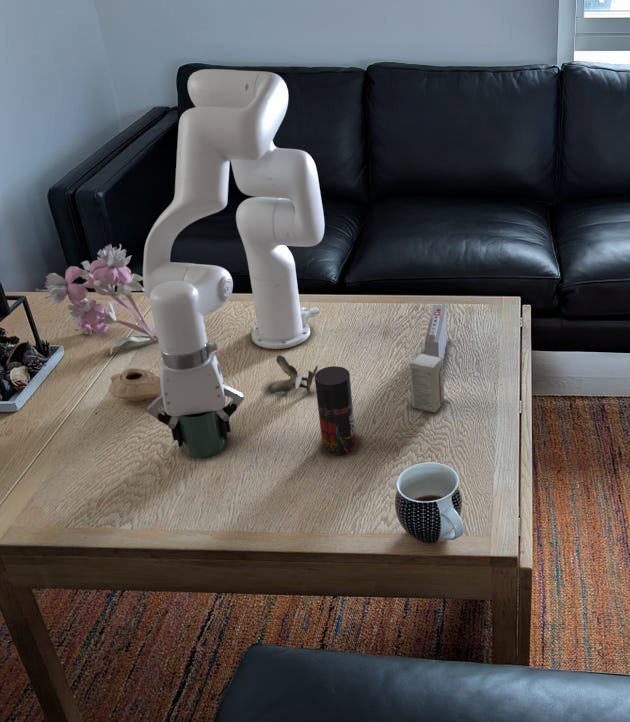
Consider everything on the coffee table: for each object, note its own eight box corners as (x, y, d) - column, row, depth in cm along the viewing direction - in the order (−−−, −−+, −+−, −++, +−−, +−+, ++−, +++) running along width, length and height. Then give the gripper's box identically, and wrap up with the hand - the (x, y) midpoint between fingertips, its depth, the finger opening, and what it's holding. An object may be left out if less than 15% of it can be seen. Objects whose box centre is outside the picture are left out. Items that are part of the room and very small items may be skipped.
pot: (210, 430, 153) (202, 391, 149) (232, 445, 149) (225, 406, 145) (177, 447, 149) (168, 408, 144) (199, 462, 145) (190, 423, 141)
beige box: (445, 401, 162) (444, 357, 156) (434, 413, 158) (433, 368, 153) (421, 395, 163) (420, 351, 158) (410, 407, 160) (408, 362, 155)
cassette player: (434, 341, 181) (433, 300, 176) (446, 341, 181) (446, 301, 176) (425, 380, 168) (424, 337, 163) (439, 380, 168) (438, 338, 163)
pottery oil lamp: (166, 411, 157) (140, 388, 153) (122, 416, 163) (96, 394, 158) (185, 375, 163) (161, 352, 158) (143, 381, 168) (118, 359, 164)
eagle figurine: (321, 373, 168) (279, 361, 168) (316, 359, 161) (272, 346, 162) (307, 407, 165) (264, 395, 165) (301, 394, 158) (257, 381, 159)
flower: (171, 297, 195) (98, 213, 180) (195, 329, 177) (116, 238, 163) (99, 350, 191) (18, 269, 176) (116, 388, 173) (28, 301, 158)
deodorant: (324, 436, 152) (315, 366, 144) (356, 434, 152) (350, 365, 144) (321, 456, 147) (313, 385, 139) (355, 454, 147) (348, 384, 139)
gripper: (238, 336, 144) (252, 419, 153) (132, 349, 140) (153, 434, 149) (239, 357, 138) (254, 443, 147) (128, 372, 134) (150, 459, 143)
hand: (203, 438), depth 148 cm, fingers closed on pot, 7 cm apart
